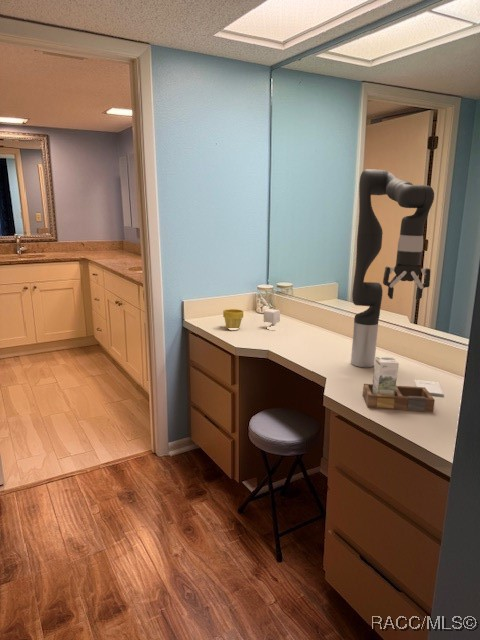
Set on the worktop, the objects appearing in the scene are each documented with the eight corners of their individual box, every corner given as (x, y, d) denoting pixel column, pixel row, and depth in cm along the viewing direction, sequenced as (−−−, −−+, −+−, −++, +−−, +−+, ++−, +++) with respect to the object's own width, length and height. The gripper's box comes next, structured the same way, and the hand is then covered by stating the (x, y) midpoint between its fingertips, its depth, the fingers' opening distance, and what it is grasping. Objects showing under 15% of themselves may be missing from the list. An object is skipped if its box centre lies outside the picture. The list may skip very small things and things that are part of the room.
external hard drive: (417, 395, 153) (414, 383, 165) (443, 398, 151) (438, 385, 162) (417, 391, 153) (414, 378, 164) (444, 394, 150) (439, 381, 162)
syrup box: (388, 398, 148) (392, 356, 145) (394, 406, 142) (399, 362, 139) (370, 398, 148) (374, 355, 145) (376, 405, 142) (380, 361, 139)
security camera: (269, 326, 242) (270, 308, 240) (280, 328, 238) (281, 310, 236) (263, 328, 237) (263, 310, 235) (274, 331, 233) (275, 312, 231)
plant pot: (236, 326, 242) (236, 308, 239) (246, 330, 233) (247, 311, 231) (219, 328, 236) (219, 309, 234) (229, 332, 228) (229, 313, 225)
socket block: (362, 394, 150) (363, 382, 150) (423, 398, 148) (425, 386, 147) (367, 407, 140) (369, 394, 139) (433, 412, 138) (435, 399, 137)
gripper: (429, 249, 148) (423, 297, 152) (384, 247, 150) (379, 295, 154) (436, 251, 141) (429, 302, 145) (389, 249, 142) (383, 300, 146)
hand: (404, 299), depth 149 cm, fingers open, 8 cm apart
